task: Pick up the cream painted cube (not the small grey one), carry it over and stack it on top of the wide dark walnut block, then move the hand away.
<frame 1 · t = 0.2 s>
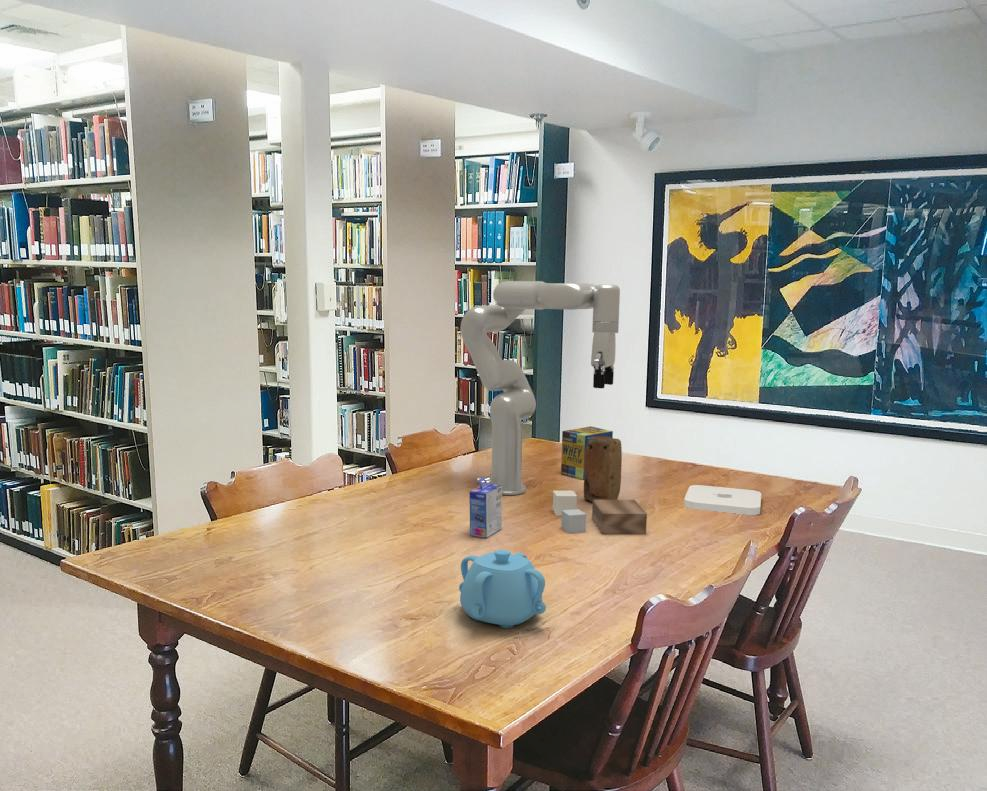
hand: (603, 386, 240), 37 cm above the table, tool pointing down, fingers open, 9 cm apart
protein box: (586, 474, 287), on the table
cream block: (564, 513, 239), on the table
computer: (722, 504, 253), on the table
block: (600, 502, 252), on the table
ink cartridge box: (485, 532, 219), on the table
walnut block: (618, 527, 227), on the table
grey block: (573, 530, 223), on the table
decorative pot: (500, 617, 165), on the table
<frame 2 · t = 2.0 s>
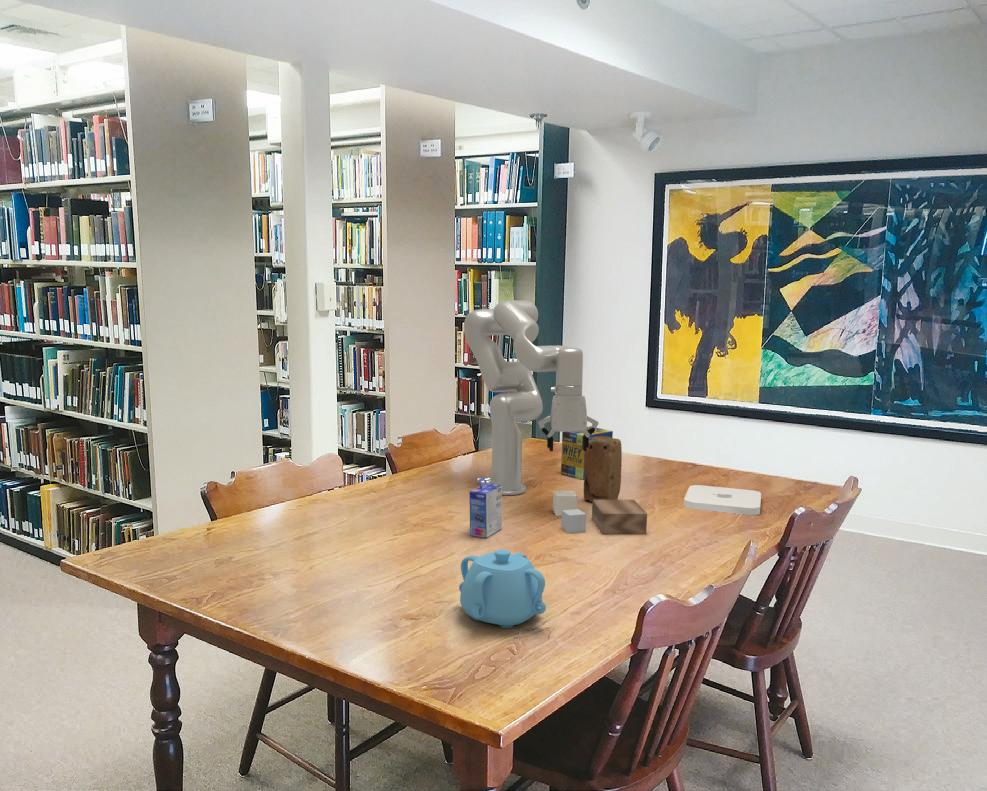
hand: (567, 450, 236), 19 cm above the table, tool pointing down, fingers open, 9 cm apart
nothing on the table moved.
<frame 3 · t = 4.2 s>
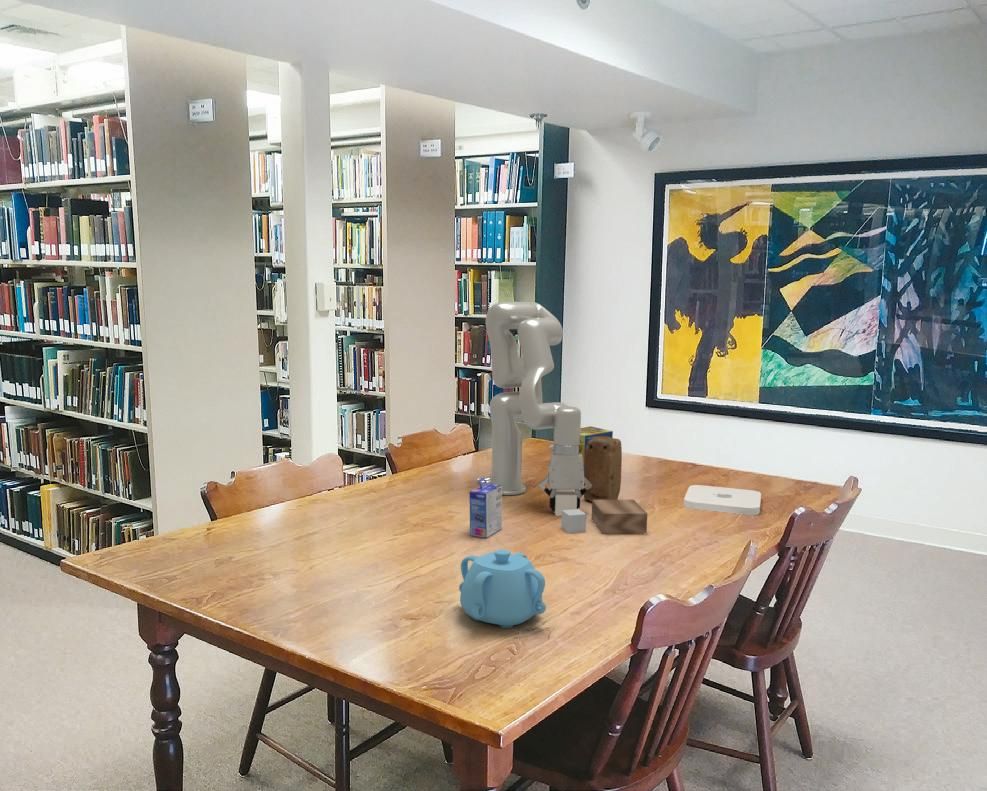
hand: (564, 509, 239), 1 cm above the table, tool pointing down, fingers closed on cream block, 6 cm apart
cream block: (564, 513, 239), on the table, touching gripper
everything else where it was.
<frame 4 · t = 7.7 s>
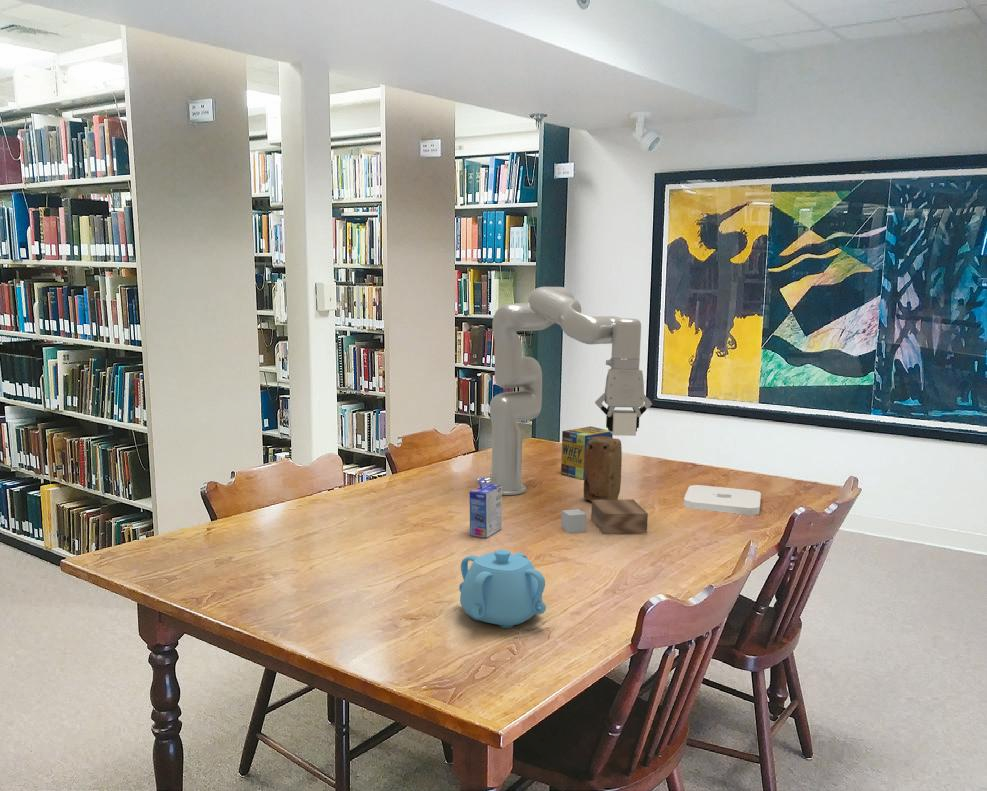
hand: (622, 430, 223), 27 cm above the table, tool pointing down, fingers closed on cream block, 6 cm apart
cream block: (622, 433, 223), point 26 cm above the table, touching gripper
everything else where it was.
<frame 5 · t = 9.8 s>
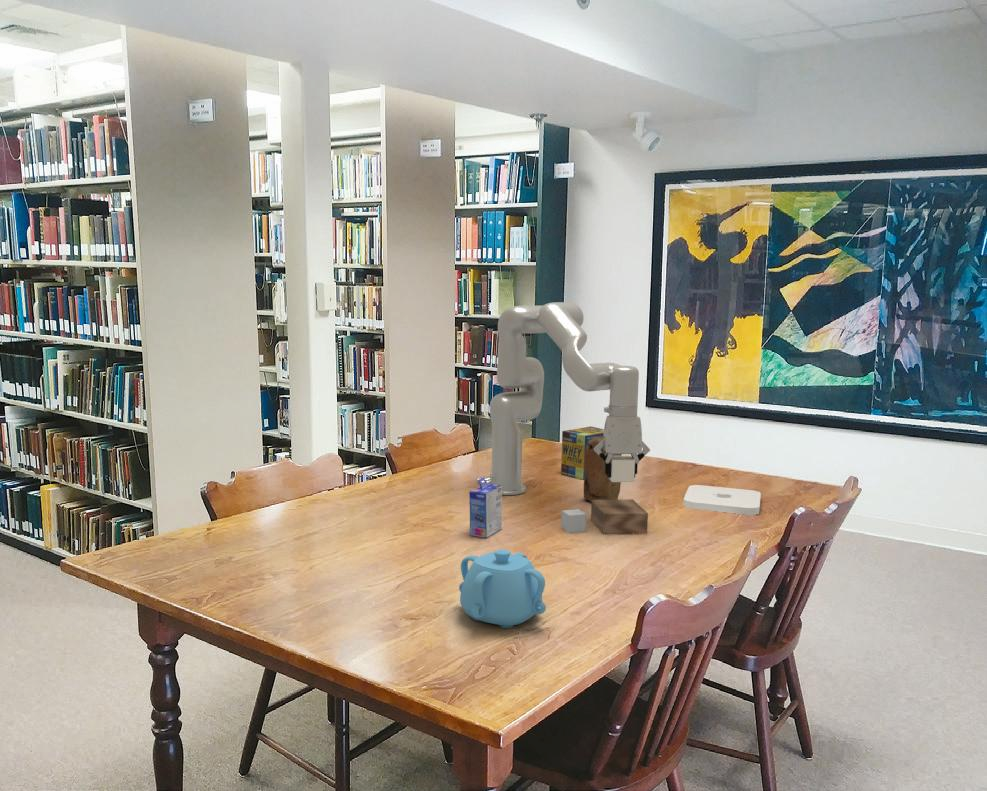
hand: (620, 476, 225), 14 cm above the table, tool pointing down, fingers closed on cream block, 6 cm apart
cream block: (620, 479, 225), point 13 cm above the table, touching gripper
everything else where it was.
when the fingers open (8 cm above the table, at t = 11.5 s): cream block drops 2 cm, point 6 cm above the table.
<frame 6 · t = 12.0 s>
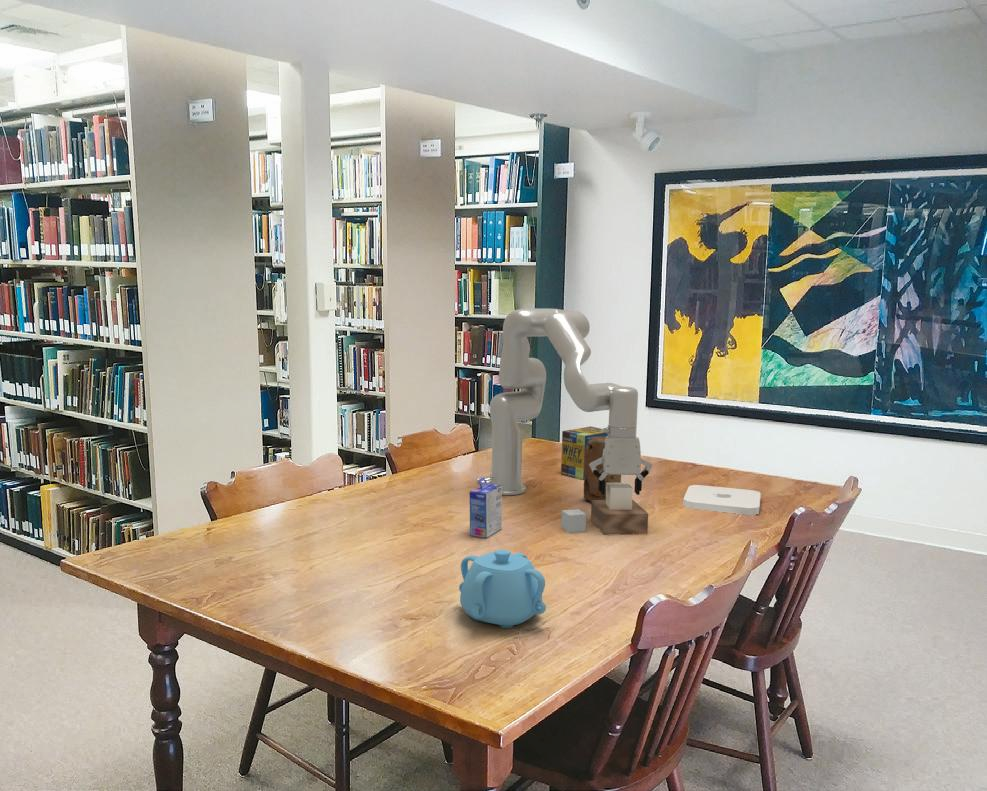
hand: (619, 493, 225), 9 cm above the table, tool pointing down, fingers open, 9 cm apart
cream block: (618, 506, 226), point 6 cm above the table
everything else where it was.
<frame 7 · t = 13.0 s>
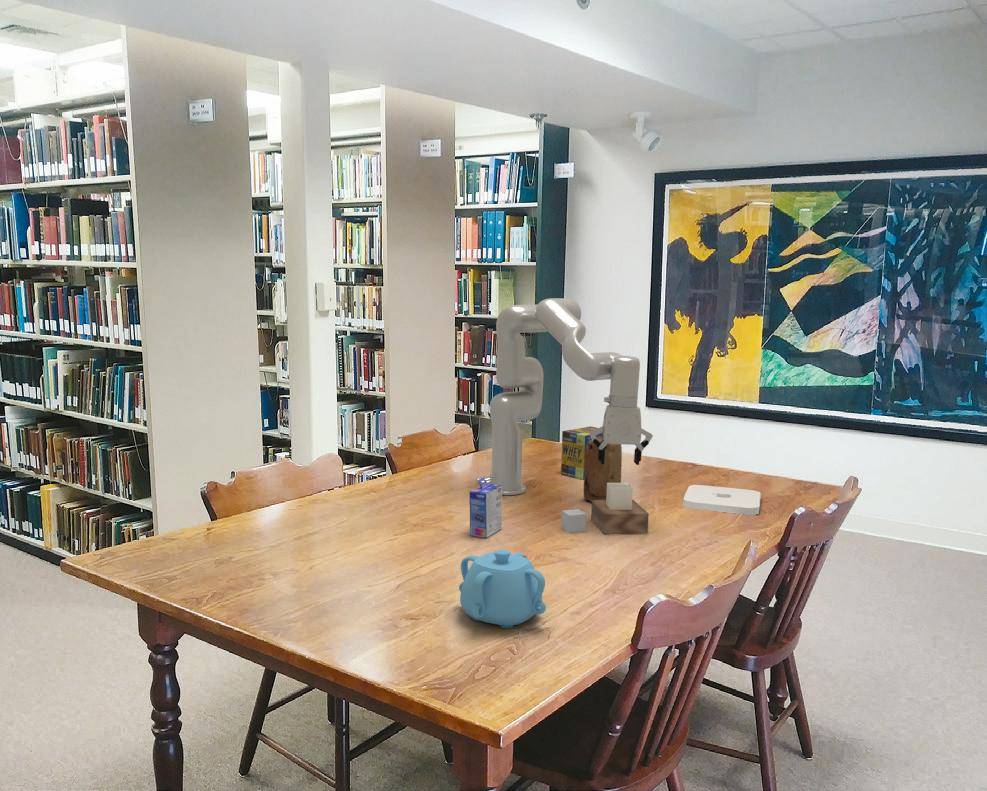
hand: (619, 463, 225), 18 cm above the table, tool pointing down, fingers open, 9 cm apart
cream block: (618, 506, 226), point 6 cm above the table, touching walnut block
walnut block: (618, 527, 227), on the table, touching cream block
everything else where it was.
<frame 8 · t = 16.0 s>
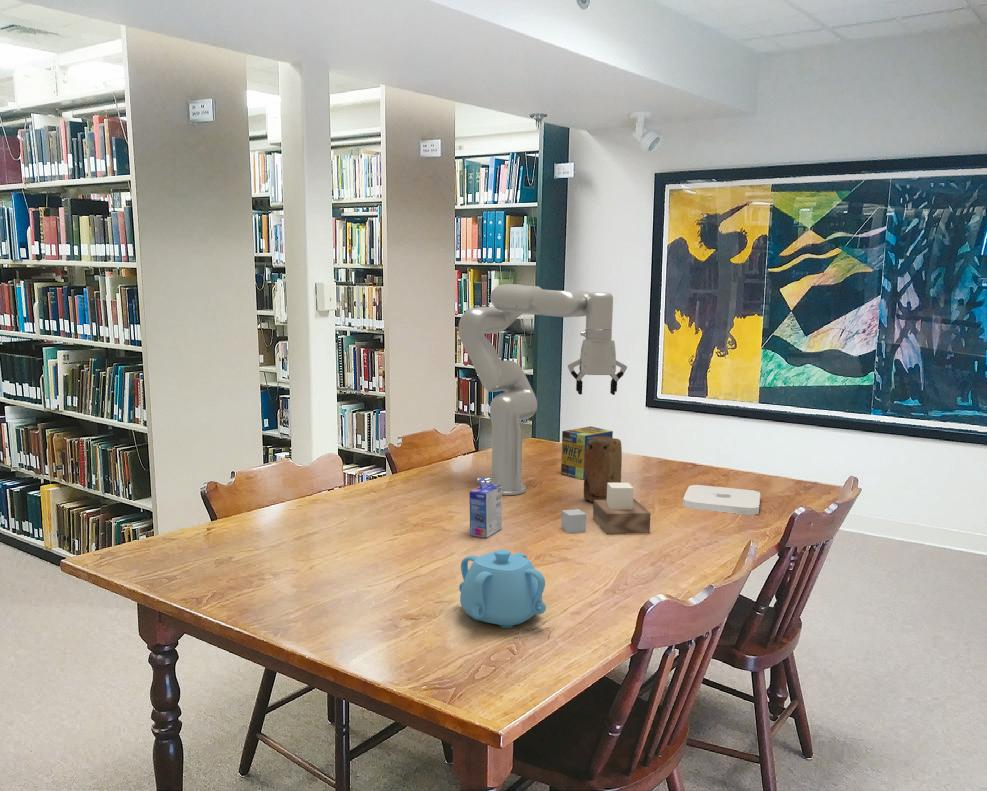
hand: (596, 394, 239), 34 cm above the table, tool pointing down, fingers open, 9 cm apart
nothing on the table moved.
at the end: cream block inside the target area on the walnut block (0.6 cm from its centre), point 6.0 cm above the walnut block's base; cream block tilted 0°; the gripper is holding nothing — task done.
